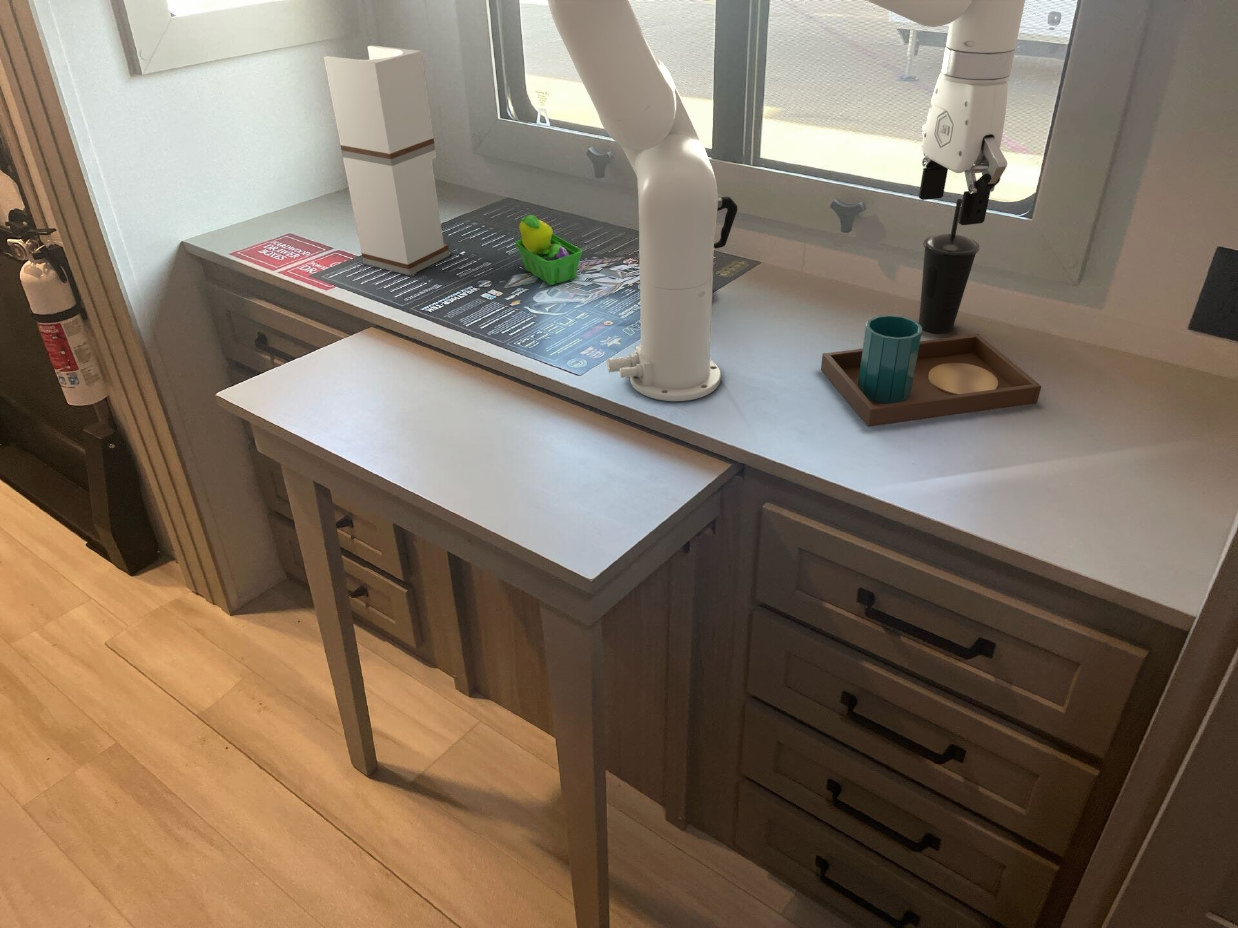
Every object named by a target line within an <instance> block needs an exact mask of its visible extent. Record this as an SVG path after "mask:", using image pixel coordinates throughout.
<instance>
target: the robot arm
mask: <svg viewBox="0 0 1238 928" xmlns="http://www.w3.org/2000/svg"><path fill="white" fill-rule="evenodd" d="M866 1H867V2H869V3H871V4H874V5H876V6H878V7H880V8H881V9H884V10H886V11H889V12H892V13H893V14H896V15H898V16H900V17H903V18H905V19H907V20H909V21H912V22H913V23H916V24H918V25H920V26H922V27H929V28H936V27H937V28H938V27H943V26H946V25H948V31H947V38H946V43H945V49H944V55H943V61H942V68H941V71H940V72H939V74H938V75H939V76H938V77H937V79H936V80H937V81H936V84H935V87H934V89H933V93H932V97H931V100H930V105H929V109H928V113H927V118H926V122H925V124H923V125H922V127H921V131H922V144H921V151H922V152H923V157H922V160H921V165H922V167H923V168H922V174H921V181H920V187H919V191H918V192H919V193H918V198H919V199H920V200H921V201H927V200H936V199H941V198H943V197H944V193H945V188H946V182H947V176H948V172H949V171H951V172H953V173H955V174H962V173H964V177H965V181H966V187H967V190H966V191H965V190H964V191H963V194H962V198H961V199H962V204H961V210H960V215H959V220H958V225H961V226H970V225H971V226H972V225H979V224H983V223H984V222H985V220H986V215H987V210H988V205H989V201H990V196H991V193H992V192H994V191H995V189H996V188H995V187H996V186H997V185H998V184H999V183H1000V181H1001V177H1002V175H1003V173H1004V172H1005V170H1006V169H1007V167H1008V161H1007V158H1006V157H1005V155H1004V154H1003V152H1002V150H1001V145H1002V141H1003V140H1002V139H1003V135H1004V128H1005V127H1004V126H1005V120H1006V114H1007V113H1006V111H1007V103H1008V86H1009V83H1008V81H1009V80H1010V76H1011V73H1012V67H1013V63H1014V57H1015V53H1016V47H1017V42H1018V37H1019V32H1020V27H1021V23H1022V18H1023V13H1024V8H1025V3H1026V0H866ZM547 3H548V7H549V11H550V14H551V17H552V19H553V22H554V24H555V28H556V30H557V32H558V34H559V36H560V38H561V40H562V42H563V44H564V47H565V49H566V50H567V52H568V54H569V57H570V58H571V61H572V63H573V65H574V67H575V69H576V72H577V74H578V76H579V78H580V80H581V82H582V84H583V86H584V88H585V89H586V92H587V94H588V96H589V99H590V100H591V102H592V104H593V106H594V108H595V110H596V112H597V115H598V118H599V121H600V123H601V125H602V127H603V129H604V130H605V132H606V133H607V135H608V136H609V137H610V138H611V139H612V140H613V141H614V142H615V143H617V144H618V145H620V146H621V149H622V151H623V152H624V155H625V156H626V158H627V160H628V162H629V164H630V167H631V168H632V170H633V172H634V174H635V176H636V181H637V182H636V184H637V198H638V201H637V202H638V228H639V229H638V250H639V251H638V252H639V253H638V257H639V260H638V261H639V262H638V264H639V310H640V315H639V316H640V345H636V346H635V347H634V348H635V349H634V351H635V352H634V353H629V354H628V356H622V357H620V356H617V357H609V358H606V368H607V372H608V373H615V372H616V373H617V372H619V377H620V379H624V378H629V380H630V383H631V386H632V388H634V389H635V390H636V391H637V392H638V393H640V394H642V395H643V396H646V397H648V398H650V399H654V400H657V401H664V402H687V401H693V400H697V399H701V398H703V397H705V396H707V395H710V394H711V393H713V392H714V391H715V390H717V388H718V387H719V385H720V384H721V381H722V380H721V379H722V378H721V377H722V375H721V374H722V373H721V368H720V367H719V366H718V365H717V364H716V363H715V362H714V361H713V360H711V342H712V341H711V340H712V314H713V312H712V311H713V310H712V308H713V299H712V293H713V283H714V278H713V277H714V254H715V253H714V251H715V250H714V249H715V248H714V243H715V237H716V236H715V235H716V226H717V217H718V211H717V208H718V198H719V196H718V195H719V194H718V193H719V192H718V185H717V179H716V176H715V172H714V170H713V166H712V163H711V162H710V159H709V156H708V154H707V152H706V147H704V144H703V142H702V140H701V138H700V136H699V133H698V131H697V129H696V127H695V125H694V122H693V121H692V118H691V117H690V115H689V112H688V110H687V108H686V106H685V104H684V102H683V99H682V97H681V94H680V93H679V90H678V88H677V86H676V83H675V82H674V80H673V77H672V76H671V73H670V71H669V70H668V68H667V67H666V65H665V64H664V62H662V61H661V60H660V59H659V58H658V57H657V56H655V55H654V54H653V51H652V49H651V48H650V45H649V44H648V41H647V39H646V37H645V35H644V32H643V31H642V27H641V25H640V22H639V21H638V18H637V16H636V14H635V12H634V10H633V8H632V6H631V3H630V1H629V0H547ZM976 174H981V176H980V177H979V178H978V179H977V177H976Z"/></svg>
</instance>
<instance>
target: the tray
mask: <svg viewBox="0 0 1238 928" xmlns="http://www.w3.org/2000/svg"><path fill="white" fill-rule="evenodd" d="M862 351H863V348H856V349H848V350H840V351H833V352H824V353H822V356H821V366H820V370H821V372H822V373H823V374H824V375H825V377H826V378H827V379H828V380H829V382H830V383H831V384H832V386H834V388H835V389H836V390H837V391H838V393H840V395H841V396H842V397H843V399H844V400H845V401H846V402H847V403H848V404H849V406H850V407H851V408H852V410H853V411H855V413H856V414H857V415H858V417H860V419H861V420H862V421H863V422H864V424H865V425H866V426H867V427H868V428H870V427H877V426H878V427H879V426H884V425H891V424H899V423H906V422H913V421H920V420H927V419H933V418H934V419H935V418H941V417H949V416H955V415H956V416H957V415H962V414H969V413H977V412H984V411H992V410H998V409H999V410H1000V409H1006V408H1013V407H1019V406H1028V405H1035V404H1038V402H1039V398H1040V394H1041V390H1042V387H1043V386H1042V385H1041V384H1040V383H1039V382H1037V381H1036V380H1035V379H1034V378H1032V376H1031V375H1029V374H1028V373H1026V372H1025V371H1024V370H1023V369H1022V368H1020V367H1019V365H1017V364H1015V363H1014V362H1013V361H1012V360H1010V359H1009V358H1008V356H1006V355H1005V354H1003V353H1002V352H1001V351H1000V350H999V349H997V348H996V347H995V346H994V345H992V344H991V342H989V341H988V340H987V339H985V338H984V337H983V336H982V335H980V334H979V333H976V334H968V335H967V334H966V335H960V336H951V337H943V338H937V339H936V338H935V339H927V340H920V344H919V350H918V356H917V361H916V367H915V373H914V378H913V384H912V390H911V394H910V397H909V398H908V399H907V400H905V401H903V402H899V403H892V404H882V403H877V402H873V401H870V400H868V398H867V397H866V396H865V395H864V394H863V393H862V391H861V390H860V389H859V388H858V380H859V372H860V365H861V358H862ZM946 363H964V364H970V365H974V366H978V367H981V368H983V369H985V370H987V371H989V372H991V373H992V374H993V375H994V376H995V377H996V378H997V380H998V387H997V389H994V390H987V391H979V392H972V393H965V394H957V395H952V394H949V393H946V392H944V391H941V390H939V389H938V388H936V387H935V386H933V385H932V384H931V383H930V381H929V378H928V375H929V372H930V370H931V369H932V368H934V367H936V366H938V365H941V364H946Z"/></svg>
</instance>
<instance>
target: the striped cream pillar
mask: <svg viewBox="0 0 1238 928" xmlns="http://www.w3.org/2000/svg"><path fill="white" fill-rule="evenodd" d="M367 52H368V59H358V58H357V59H356V58H347V57H341V56H340V57H339V56H332V55H325V56H323V61H324V68H325V73H326V77H327V82H328V88H329V92H330V98H331V104H332V108H333V115H334V119H335V124H336V128H337V134H338V138H339V144H340V150H341V155H342V159H343V165H344V172H345V174H346V175H345V176H346V181H347V186H348V191H349V196H350V201H351V206H352V212H353V217H354V221H355V227H356V233H357V237H358V243H359V249H360V253H361V259H362V264H364V265H368V266H371V267H375V268H379V269H381V270H386V271H390V272H395V273H397V274H402V275H406V276H413V275H414V274H417V273H418V272H420V271H422V270H424V269H426V268H429V266H432V265H434V264H436V263H438V262H440V261H441V260H444V259H446V258H449V257H450V255H451V254H450V249H449V244H446V243H445V242H444V238H443V237H444V236H443V230H442V222H441V214H440V208H439V207H440V206H439V201H438V195H437V186H436V178H435V172H434V166H433V160H435V159H437V153H436V145H435V138H434V132H433V131H434V130H433V123H432V116H431V107H430V102H429V101H430V99H429V94H428V88H427V80H426V72H425V64H424V58H423V51H422V50H416V49H407V48H398V47H390V46H382V45H381V46H379V45H368V46H367Z"/></svg>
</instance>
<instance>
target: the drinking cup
mask: <svg viewBox="0 0 1238 928" xmlns="http://www.w3.org/2000/svg"><path fill="white" fill-rule="evenodd" d="M962 199H963V198H957V199H956V205H955V209H954V210H955V211H954V214H953V219H952V225H951V230H950V232H942V233H938V234H933V235H930V236H927V237H925V239H924V240H923V243H922V245H923V247H924V254H923V267H922V280H921V290H920V291H921V294H920V304H919V318H918V323H919V324H920V325H921V326H922V332H925V333H929V334H933V335H945V334H949V333H951V332H952V331H953V329H954V325H955V323H956V320H957V317H958V313H959V310H960V307H961V303H962V301H963V300H962V299H963V297H964V293H965V290H966V287H967V283H968V281H969V278H970V277H969V276H970V275H971V271H972V267H973V264H974V261H975V258H976V254H977V253H978V252H979V251H980V247H981V246H980V243H979V242H978V241H977V240H975V239H973V238H971V237H968V236H966V235H964V234H961V233H957V231H958V225H959V223H958V221H959V215H960V210H961V205H962Z"/></svg>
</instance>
